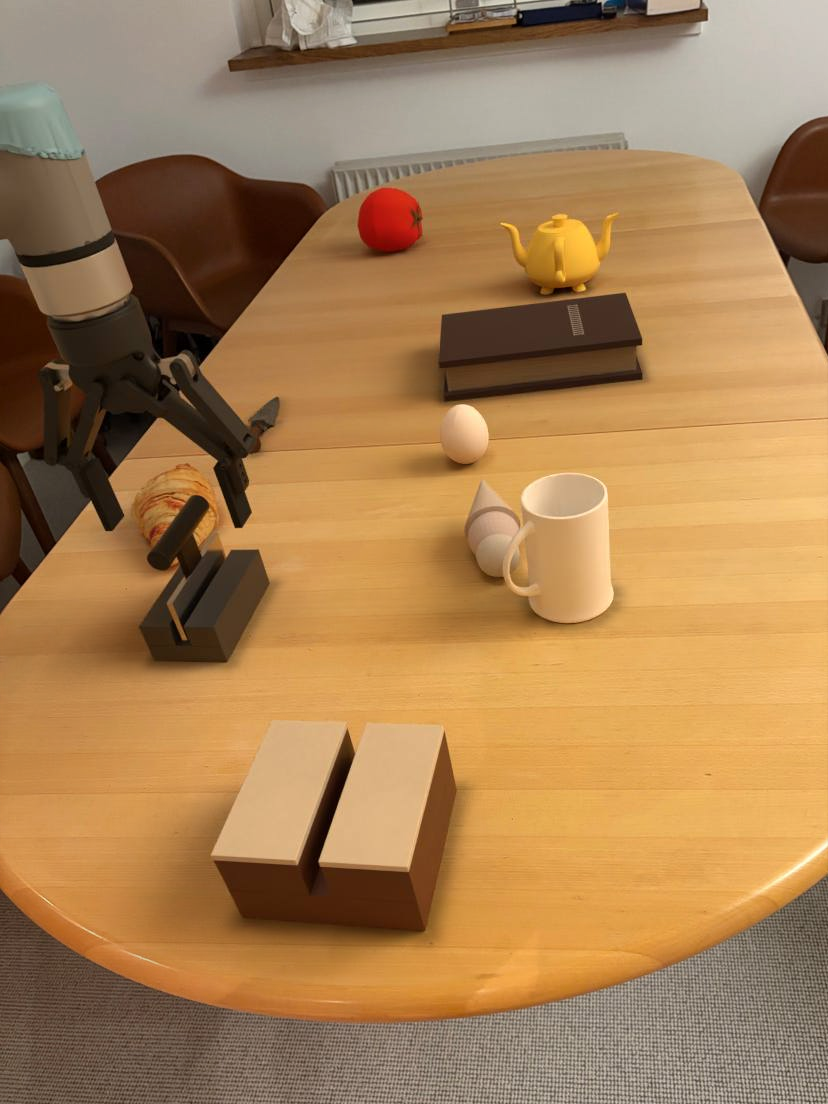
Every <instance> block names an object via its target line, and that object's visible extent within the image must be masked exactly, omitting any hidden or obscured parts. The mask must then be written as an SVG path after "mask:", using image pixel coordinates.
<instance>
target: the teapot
mask: <svg viewBox="0 0 828 1104" xmlns="http://www.w3.org/2000/svg"><path fill="white" fill-rule="evenodd" d="M620 213H621V212H620V211H618V212H615V213H611V214H609V215H607V216H606V217H605V218H604V220H603V222H602V228H601V229H602V230H601V231H602V233H601V237H600V239H599V241H598V242H596V241H595V239H594V237H593V235H592V234H591V232H590V230H589V229H588V228H587V226H586V225H585V224H584V223H583V222H582V221H581V220H578V219H573V218H568V214H565V213H557V214H554V215H552V216H551V220H549V221H546V222H544V223H541V224H540V225H538V227H537V228H536V230H535V232H534V233H533V235H532V237H531V239H530V242H529V245H528V247H527V249H526V248H525V247H524V246H523V245H522V244H521V240H520V234H519V231H518V229H517V228H516V226H514V225H513V224H510V223H505V222H500V225H501V226H502V227H504V228H505V229H506V230H507V232H508V233H509V236H510V240H511V245H512V246H511V247H512V254H513V257H514V259H515V261H516V263H518V265H519V266H521V267H522V268H524V273H525V275H526V276H527V277H528V278H529V280H530V281H531V282H533V283H534V284H535V285H537V286H539V287H541V289H540V292H539V294H541V295H551V294H553V293H554V291H555V290H554V289H555V288H556V289H559V288H561V289H562V288H568V287H569V288H570V287H571V290H572V292H575V293H580V292H584V291H586V290H587V287H586V286H585V284H584V283H586V282H588V281H589V280H592V278H593V277H594V275H595V274H596V273H597V271H598V270H599V268H600V266H601V262H602V261H603V260H604V259H605V258H606V256H607V255H608V254H609V251H610V247H611V230H612V225H613V223H614V220H615V219H616V217H618V215H620Z"/></svg>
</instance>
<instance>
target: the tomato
mask: <svg viewBox="0 0 828 1104" xmlns="http://www.w3.org/2000/svg"><path fill="white" fill-rule="evenodd" d="M419 202H420V201H418V200H417V199H416V197H414V196H412V195H411V194H409V192H406V191H404V190H403V189H399V188H396V187H380V188H378V189H376V190H374V191H372V192H370V193H369V194H368V195H367V196H366V197H365V198H364V200H363V202H362V203H361V204H360V208H359V210H358V219H357V230H358V233H359V237H360V239H361V241H362V242H363V243H364V244H365V246H367V247H368V248H371V249H372V250H375V251H378V252H382V253H395V252H399V251H403V250H407V249H409V248H410V247H411V246H413V245H414V244H415V243H416V242H417V241H418V240H419V239H421V238H422V237H423V225H422V220H423V212H422V208H421V206H420V203H419Z"/></svg>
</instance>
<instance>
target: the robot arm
mask: <svg viewBox="0 0 828 1104" xmlns="http://www.w3.org/2000/svg"><path fill="white" fill-rule="evenodd" d="M4 240H7V241H8V242H9V243H10V245H11V247H12V249H13V250H14V253H15V256H16V258H17V261H18V263H19V266H20V267H21V270H22V272H23V274H24V276H25V279H26V281H27V283H28V286H29V288H30V291H31V293H32V295H33V297H34V300H35V301H36V304H37V307H38V309H39V311H40V312H41V313H42V314H44V315H47V320H46V326H47V328H48V330H49V333H50V335H51V337H52V340H53V342H54V344H55V346H56V348H57V351H58V352H59V355H60V358H61V359H62V360H63V361H64V362H65V363H67V364H64V362H63V361H62V360H60V359H59V358H53V359H52V360H50V361H49V362H48V363H47V364H46V365H44V366H43V367H42V368H41V369H40V370H39V371H37V374H36V375H37V379H38V381H39V384H40V387H41V390H42V394H43V460H44V462H45V463H46V465H48V466H50V467H56V465H59V466H62V467H65V469H66V470H67V471H68V472H71V475H72V477H73V479H74V481H75V483H76V486H77V487H78V489H79V491H80V493H81V495H82V497H83V498H85V499H89V500H90V502H91V503H92V506H93V508H94V510H95V512H96V514H97V516H98V518H99V521H100V523H101V525H102V527H103V529H104V531H105V532H113V531H114V530H115V529H116V528H117V526H118V525H119V523H121V521H122V520H123V519H124V518H125V516H126V515H125V513H124V511H123V508H122V506H121V504H120V502H119V500H118V498H117V495H116V493H115V491H114V488H113V487H112V484H111V482H110V480H109V478H108V475H107V473H106V471H105V469H104V466H103V465H102V461H101V459H100V457H91V458H90V460H89V459H88V458H89V457H90V456H91V455H92V454H93V452H92V449H93V447H94V444H95V441H96V439H97V437H98V434H99V431H100V429H101V426H102V424H103V420H104V418H105V415H106V412H110V414H111V416H112V415H113V416H114V415H122V414H124V413H131V414H144V413H145V412H146V411H147V412H148V413H149V414H151V415H152V416H154V417H155V418H157V419H163V420H164V421H166V422H167V423H168V424H170V425H171V426H172V427H174V428H175V429H176V430H177V431H178V432H180V433H181V434H183V436H184V437H186V438H188V439H189V440H190V441H191V442H192V443H194V444H195V445H196V446H198V447H199V448H200V449H202V450H203V451H204V452H205V453H207V454H208V455H210V456H211V457H212V458H214V459H215V460H216V461H217V462H215V464H214V466H213V467H212V469H213V472H214V475H215V477H216V480H217V482H218V485H219V488H220V491H221V494H222V496H223V499H224V502H225V505H226V507H227V510H228V514H229V516H230V518H231V521H232V524H233V527H234V529H243V528H244V526H245V524H246V523H247V521H248V520H249V518H250V517H251V515H252V513H253V511H252V509H251V506H250V502H249V499H248V496H247V493H246V490H247V489H248V487H249V485H250V479H249V476H248V473H247V469H246V466H245V464H244V460H243V459H246V458H248V456H249V455H250V454H251V453H250V452H251V450H252V449H253V447H254V446H255V444H256V443H257V438H256V437H255V435H254V434H253V433H252V432H251V431H250V429H251V428H249V426H247V424H246V423H245V422H244V421H243V420H242V419H241V418H240V416H239V415H238V414H237V413H236V412H235V411H234V409H233V408H232V407H231V406H230V405H229V403H227V401H226V400H225V399H224V398H223V397H222V395H221V394H220V392H218V391H217V389H215V387H214V386H213V384H212V383H210V381H209V380H208V379H207V378H206V376H205V375H204V374H203V373H202V371H201V369H200V366H199V364H198V362H197V359H196V358H195V355H194V354H193V352H192V351H190V350H188V349H183V350H182V351H180V353H178V355H176V356H171V357H166V358H161V356H159V354H158V353H157V352H156V350H155V348H154V346H153V340H152V334H151V330H150V327H149V325H148V322H147V319H146V317H145V314H144V311H143V308H142V305H141V304H140V301H139V298H138V297H137V296H135V295H134V294H132V293H131V292H132V290H133V287H134V286H133V283H132V280H131V277H130V274H129V271H128V270H127V266H126V264H125V261H124V258H123V256H122V253H121V250H120V247H119V245H118V242H117V240H116V237H115V234H114V231H113V229H112V227H111V224H110V221H109V218H108V215H107V213H106V209H105V206H104V204H103V201H102V198H101V195H100V193H99V190H98V186H97V184H96V181H95V178H94V176H93V173H92V170H91V167H90V164H89V161H88V159H87V155H86V149H85V148H84V145H83V144H82V143H81V142H80V139H79V138H78V135H77V133H76V130H75V128H74V126H73V123H72V121H71V119H70V116H69V114H68V111H67V109H66V107H65V105H64V102H63V100H62V97H61V96H60V94H59V93H58V92H57V90H55V89H54V88H53V87H51V86H50V85H48V84H47V83H44V82H38V81H28V82H26V81H25V82H19V83H11V84H6V85H1V86H0V241H4ZM165 376H166V377H168V378H169V382H170V383H169V382H168V381H167V380H165ZM73 385H74V386H75V387H77V388H78V389H79V390H80V391H82V392H83V393H84V394H85V395H86V396H85V398H84V401H83V405H82V407H81V410H80V415H81V416H80V417H79V418H80V419H79V421H78V423H77V427H76V429H75V432H74V435H73V437H72V440H71V442H70V437H71V405H72V404H71V402H72V401H71V400H72V386H73ZM173 385H177V387H178V389H179V390H180V391H179V390H178V389H176V388H175V387H174V386H173ZM180 392H181V393H182V395H183V396H184V397H185V398H186V399H187V400H185V399H184V398H182V396H181V393H180ZM159 395H160V396H161V397H162V398H163V399H162V400H158V398H159Z"/></svg>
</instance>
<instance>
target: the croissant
mask: <svg viewBox="0 0 828 1104" xmlns="http://www.w3.org/2000/svg"><path fill="white" fill-rule="evenodd" d="M193 495H200V496H202V497H204V498H205V499H206V500H207V501H208V503H209V510H208V512H207V513H206V515H205V516H204V518H203V519H202V521H201V522H200V523H199V525H198V526H197V528H196V529H195V531H194V532H193V535H194V537H195V540H196V542H197V545H198V548H199V549H200V546H201V544H203V542H204V541H205V540H207V539H208V537H209V536H210V534H211V533H212V531H213V530H214V528H216V527H218V525H219V523H220V521H221V520H220V519H221V518H220V517H221V516H220V512H219V506H218V501H217V497H216V492H215V489H214V487H213V486H212V484H211V482H210V480H209V478H207V477H206V475H204V474H202V473H201V472H200V471H199V470H198V469H197V468H195V467H193V466H191V465H190V464H189V463H188V462H187V463H179V464H176V466H175V467H174V468H173V469H171V470H167V471H164V472H162V473H160V474H158V475H156V476H154V477H153V478H150V479H149V480H148V481H147V482H146V483H145V485H143V486H142V487H141V488H140V490H139V491H138V492H137V494H136V495H135V497H134V500H133V503H132V504H131V508H130V514H131V515H130V516H131V517H132V518H133V521H134V523H135V525H137V526H138V527H139V532H140V534H141V536H142V537H144V538H145V539H148V541H149V543H150V546H151V549H152V548H153V547H154V546H155V544H156V543H157V542H158V540H159V539H160V537H161V536H162V535H163V533H164V532H165V531H166V529H167V528H168V526H169V525H170V524H171V522H172V521H173V520H174V518H175V517H176V516H177V514H178V513H179V511H180V510H181V509H182V507H183V506H184V505H185V503H186V502H187V500H188V499H189V498H190V497H191V496H193ZM178 564H179V562H178V559H177V557H176V558H175V560H174V561H173V563H172V564H171V566H170V567H173V566H176V565H178Z"/></svg>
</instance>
